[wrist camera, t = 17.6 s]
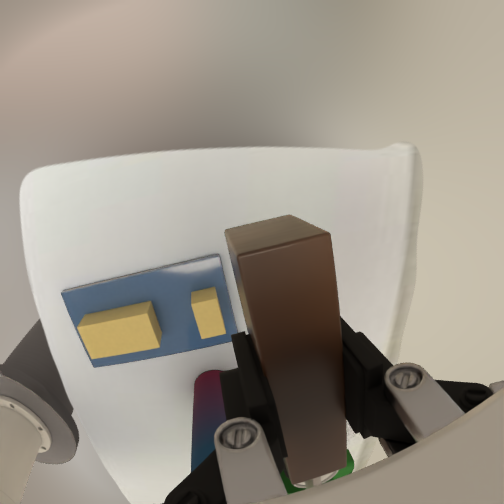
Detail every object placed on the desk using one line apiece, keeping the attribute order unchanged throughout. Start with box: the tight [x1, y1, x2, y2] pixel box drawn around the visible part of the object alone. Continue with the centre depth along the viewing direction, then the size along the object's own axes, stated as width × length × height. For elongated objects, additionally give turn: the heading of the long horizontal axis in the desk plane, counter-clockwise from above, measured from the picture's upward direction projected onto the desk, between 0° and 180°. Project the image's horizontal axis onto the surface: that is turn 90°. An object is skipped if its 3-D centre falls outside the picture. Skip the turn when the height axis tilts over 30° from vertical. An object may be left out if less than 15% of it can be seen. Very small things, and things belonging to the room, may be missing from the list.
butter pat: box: [191, 287, 226, 339], centre depth 31 cm, size 2×4×3 cm, turn 11°
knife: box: [224, 215, 347, 489], centre depth 12 cm, size 2×19×4 cm, turn 12°
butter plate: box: [61, 254, 238, 368], centre depth 32 cm, size 18×10×1 cm, turn 101°
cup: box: [191, 370, 226, 472], centre depth 29 cm, size 7×7×15 cm
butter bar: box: [77, 301, 162, 359], centre depth 30 cm, size 8×4×3 cm, turn 101°
